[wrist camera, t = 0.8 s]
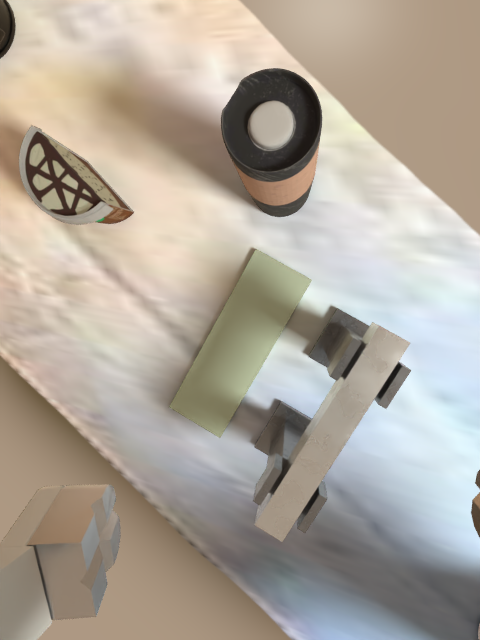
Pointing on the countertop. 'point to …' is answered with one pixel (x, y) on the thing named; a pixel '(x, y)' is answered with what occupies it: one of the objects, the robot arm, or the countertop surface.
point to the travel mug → (274, 138)
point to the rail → (330, 430)
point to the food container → (67, 183)
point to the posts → (291, 424)
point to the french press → (6, 27)
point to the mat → (239, 342)
